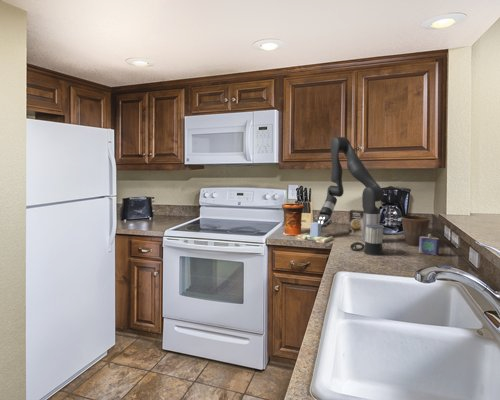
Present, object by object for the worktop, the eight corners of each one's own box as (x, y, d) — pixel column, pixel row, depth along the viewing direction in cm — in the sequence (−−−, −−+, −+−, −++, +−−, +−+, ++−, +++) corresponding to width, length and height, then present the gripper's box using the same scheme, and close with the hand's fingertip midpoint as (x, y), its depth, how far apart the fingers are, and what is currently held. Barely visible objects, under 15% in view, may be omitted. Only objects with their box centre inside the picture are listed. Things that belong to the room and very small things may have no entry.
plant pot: (425, 249, 191) (427, 220, 189) (397, 245, 200) (398, 218, 198) (430, 244, 203) (432, 217, 201) (403, 240, 212) (404, 214, 210)
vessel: (281, 235, 225) (281, 204, 223) (281, 231, 239) (282, 202, 238) (303, 236, 224) (304, 205, 222) (302, 232, 238) (303, 203, 236)
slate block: (321, 235, 216) (321, 223, 215) (317, 236, 212) (317, 224, 211) (314, 234, 219) (314, 222, 218) (310, 235, 215) (310, 223, 214)
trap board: (332, 239, 214) (332, 236, 214) (324, 243, 205) (324, 239, 205) (306, 235, 225) (306, 232, 225) (297, 238, 216) (297, 235, 216)
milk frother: (384, 256, 177) (385, 227, 175) (352, 254, 180) (353, 226, 178) (379, 249, 191) (380, 222, 189) (349, 247, 194) (350, 221, 192)
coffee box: (348, 234, 229) (349, 210, 227) (350, 233, 234) (351, 209, 233) (362, 236, 224) (363, 211, 223) (364, 234, 230) (365, 210, 228)
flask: (418, 253, 182) (419, 233, 181) (419, 252, 184) (420, 232, 183) (438, 256, 177) (439, 235, 175) (438, 255, 179) (440, 234, 178)
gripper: (316, 205, 228) (306, 226, 219) (335, 207, 219) (325, 229, 211) (319, 212, 232) (310, 233, 224) (338, 214, 224) (329, 236, 216)
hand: (318, 231), depth 218 cm, fingers closed
